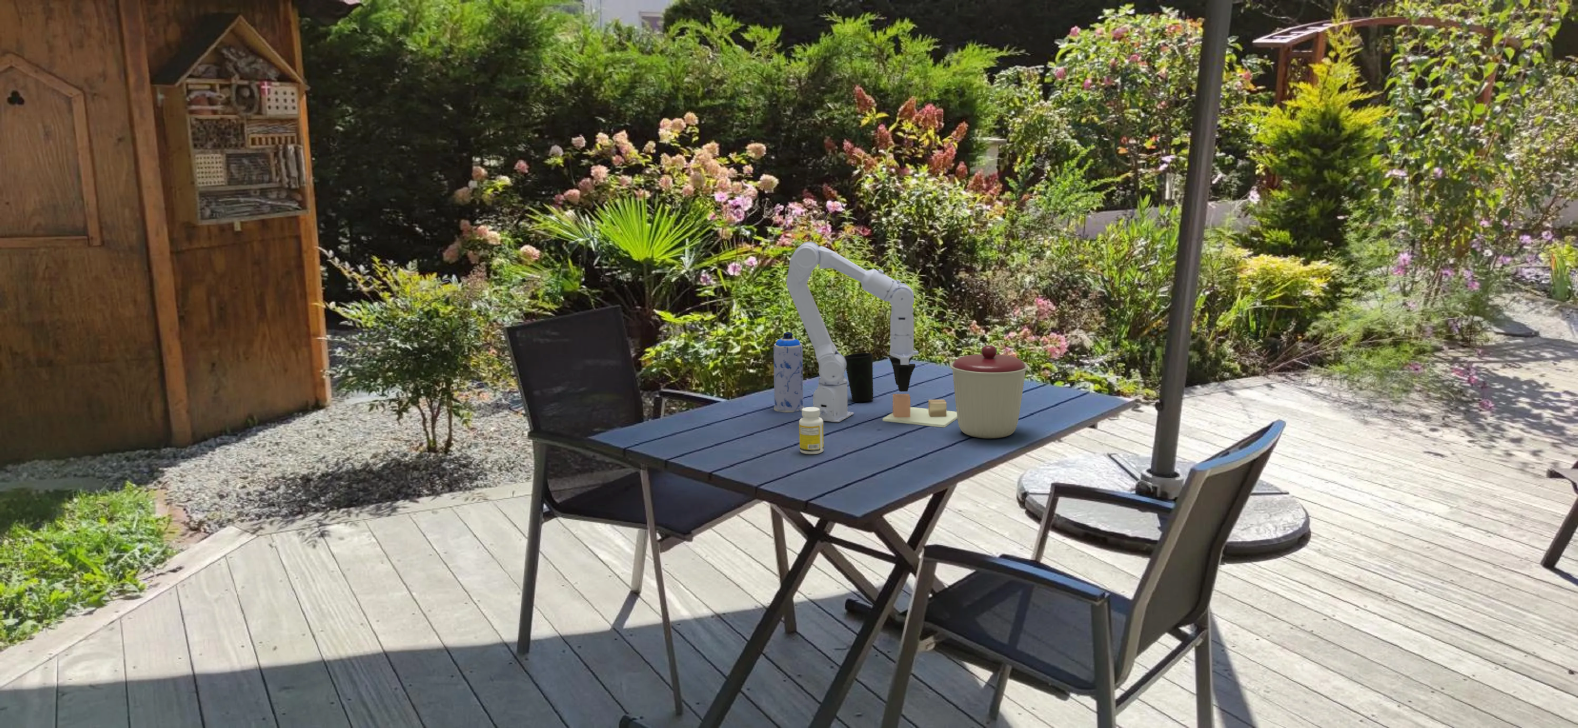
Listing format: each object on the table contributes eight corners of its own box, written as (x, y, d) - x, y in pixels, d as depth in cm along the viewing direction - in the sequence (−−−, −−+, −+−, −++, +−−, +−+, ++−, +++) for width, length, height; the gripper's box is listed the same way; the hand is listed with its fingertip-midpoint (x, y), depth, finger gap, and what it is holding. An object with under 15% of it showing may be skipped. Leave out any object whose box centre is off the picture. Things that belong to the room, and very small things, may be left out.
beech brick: (946, 416, 281) (946, 403, 280) (930, 416, 281) (930, 403, 280) (944, 412, 285) (944, 399, 284) (928, 412, 285) (928, 399, 284)
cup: (877, 400, 298) (872, 355, 296) (848, 403, 298) (843, 359, 296) (876, 395, 305) (871, 351, 303) (848, 398, 306) (843, 354, 304)
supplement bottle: (809, 446, 258) (809, 404, 256) (828, 450, 254) (828, 408, 252) (794, 452, 254) (794, 409, 252) (813, 456, 250) (813, 413, 248)
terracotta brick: (910, 417, 281) (910, 397, 280) (894, 417, 281) (894, 397, 280) (908, 413, 285) (908, 393, 284) (892, 413, 285) (892, 394, 284)
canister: (1026, 445, 257) (1029, 353, 253) (946, 441, 260) (947, 351, 256) (1026, 425, 274) (1028, 339, 270) (951, 422, 278) (952, 337, 274)
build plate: (944, 427, 273) (944, 425, 273) (882, 420, 280) (882, 418, 280) (962, 414, 285) (962, 412, 285) (903, 408, 292) (903, 406, 292)
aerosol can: (806, 411, 291) (805, 334, 287) (776, 413, 290) (774, 335, 286) (801, 404, 298) (800, 329, 294) (771, 406, 297) (770, 330, 293)
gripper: (921, 338, 272) (921, 394, 275) (914, 328, 286) (914, 381, 289) (892, 339, 272) (892, 394, 275) (887, 329, 286) (887, 381, 289)
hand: (901, 387), depth 282 cm, fingers open, 7 cm apart
